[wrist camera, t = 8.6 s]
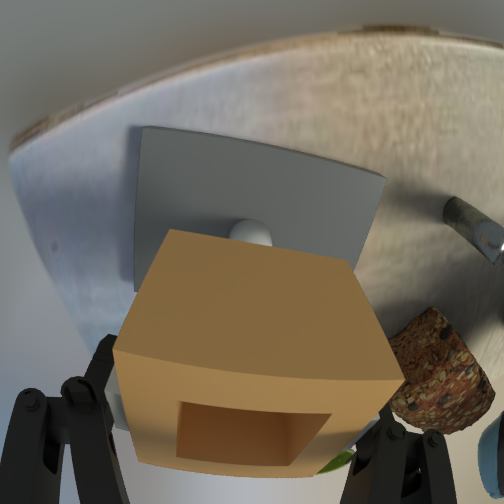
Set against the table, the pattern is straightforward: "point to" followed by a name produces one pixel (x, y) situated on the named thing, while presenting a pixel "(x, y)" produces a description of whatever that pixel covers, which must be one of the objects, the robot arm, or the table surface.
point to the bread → (438, 377)
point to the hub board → (249, 196)
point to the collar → (249, 359)
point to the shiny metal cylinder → (476, 229)
